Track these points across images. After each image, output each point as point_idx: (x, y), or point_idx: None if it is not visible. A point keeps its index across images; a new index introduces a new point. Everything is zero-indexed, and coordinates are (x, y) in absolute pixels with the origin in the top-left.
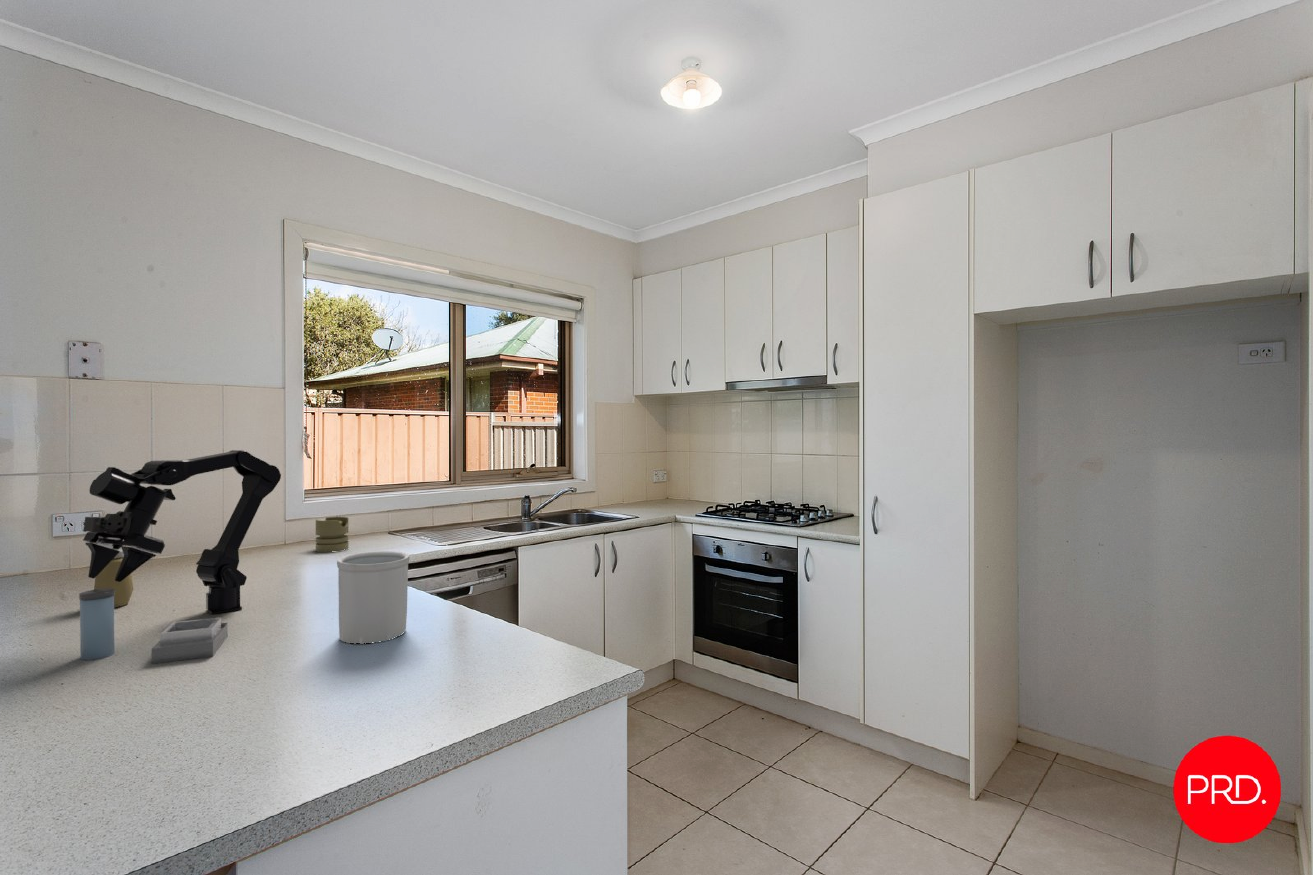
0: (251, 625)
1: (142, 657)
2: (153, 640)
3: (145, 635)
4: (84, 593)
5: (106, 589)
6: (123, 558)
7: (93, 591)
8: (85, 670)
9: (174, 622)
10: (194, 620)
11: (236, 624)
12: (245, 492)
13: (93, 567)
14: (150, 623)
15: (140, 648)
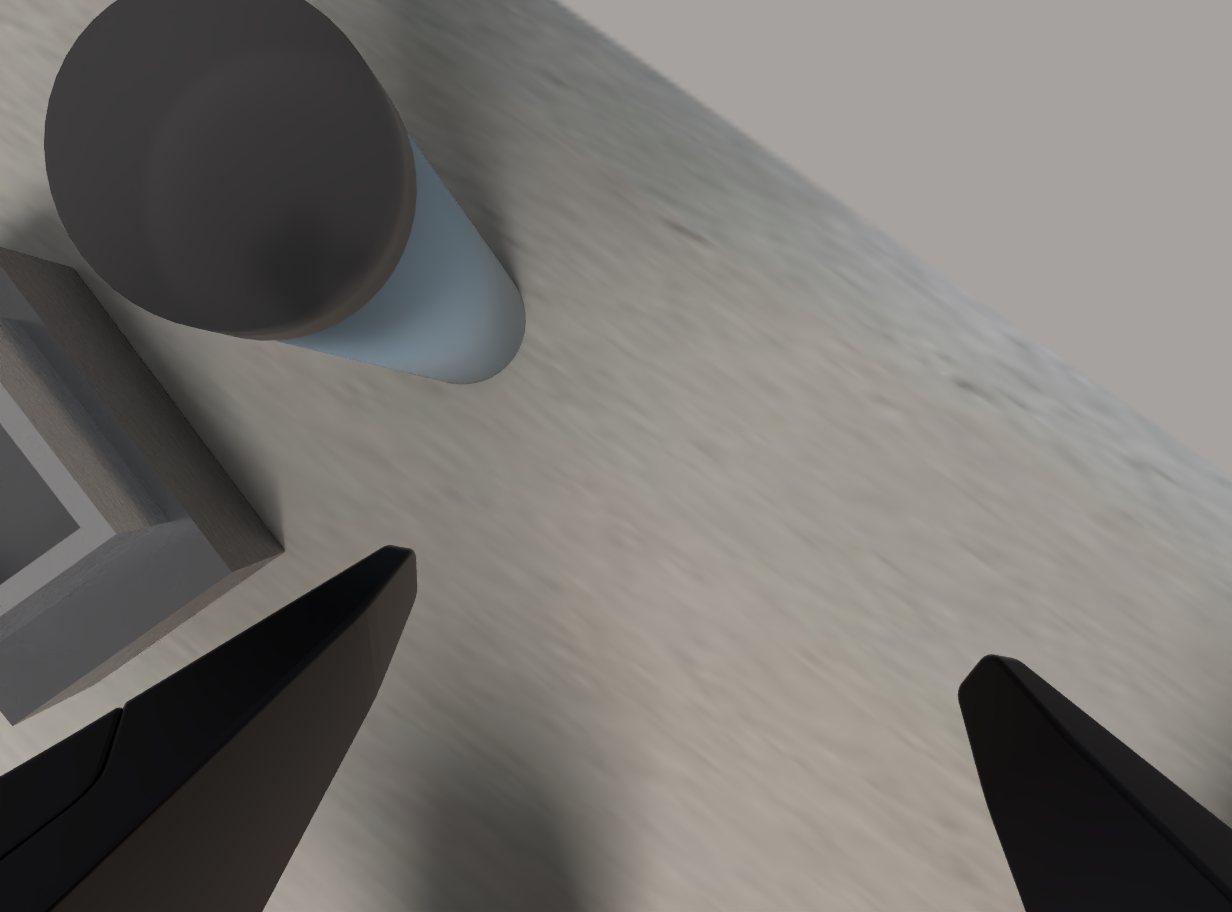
0: None
1: (213, 338)
2: None
3: (535, 618)
4: (284, 49)
5: (227, 277)
6: (7, 902)
7: (283, 159)
8: None
9: (100, 532)
10: (12, 593)
11: None
12: None
13: (1103, 797)
14: (711, 791)
15: (356, 445)
